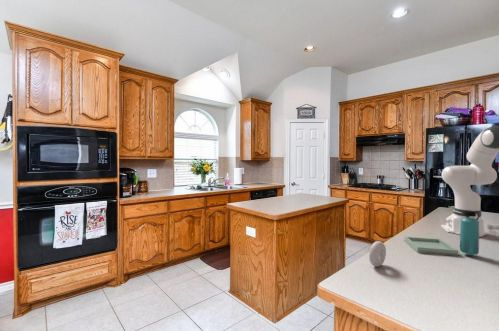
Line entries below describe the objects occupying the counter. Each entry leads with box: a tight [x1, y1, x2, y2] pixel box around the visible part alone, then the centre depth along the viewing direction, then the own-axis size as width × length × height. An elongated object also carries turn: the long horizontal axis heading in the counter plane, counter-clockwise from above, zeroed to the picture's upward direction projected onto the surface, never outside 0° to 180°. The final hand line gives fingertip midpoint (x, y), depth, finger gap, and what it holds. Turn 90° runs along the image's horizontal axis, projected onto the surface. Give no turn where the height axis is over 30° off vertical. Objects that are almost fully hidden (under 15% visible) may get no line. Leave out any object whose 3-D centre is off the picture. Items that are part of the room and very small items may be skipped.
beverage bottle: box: [459, 210, 480, 256], centre depth 110 cm, size 6×7×20 cm
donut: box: [368, 240, 387, 268], centre depth 99 cm, size 10×4×10 cm, turn 130°
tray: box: [403, 236, 459, 257], centre depth 119 cm, size 16×16×2 cm
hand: (488, 229), depth 106 cm, fingers open, 8 cm apart
